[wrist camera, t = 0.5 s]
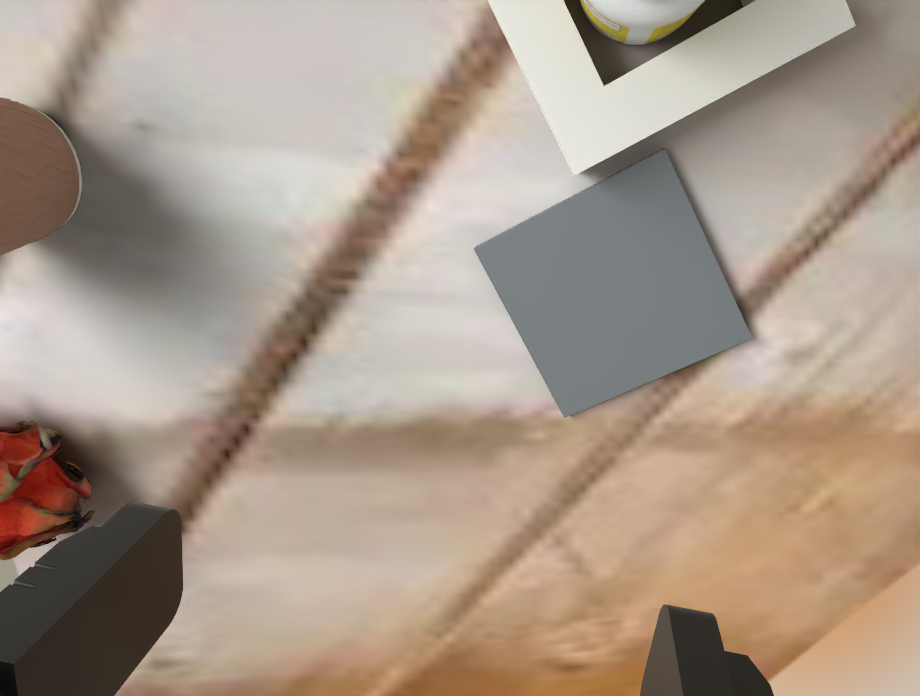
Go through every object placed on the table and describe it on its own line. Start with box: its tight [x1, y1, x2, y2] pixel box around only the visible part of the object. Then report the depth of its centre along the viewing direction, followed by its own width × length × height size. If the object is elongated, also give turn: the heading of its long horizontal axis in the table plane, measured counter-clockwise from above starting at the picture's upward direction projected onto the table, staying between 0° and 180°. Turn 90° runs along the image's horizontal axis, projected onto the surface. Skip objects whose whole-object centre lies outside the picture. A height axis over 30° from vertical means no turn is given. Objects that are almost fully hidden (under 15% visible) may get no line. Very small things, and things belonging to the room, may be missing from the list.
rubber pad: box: [474, 148, 752, 418], centre depth 35 cm, size 10×10×1 cm
